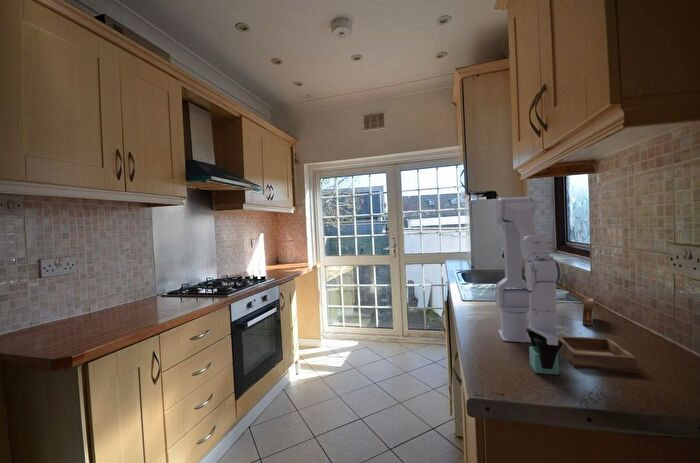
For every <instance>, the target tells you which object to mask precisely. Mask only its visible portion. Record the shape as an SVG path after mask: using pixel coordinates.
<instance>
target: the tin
mask: <svg viewBox="0 0 700 463" xmlns="http://www.w3.org/2000/svg"><path fill="white" fill-rule="evenodd" d="M595 301H596V299H595V298H594V297H590V296H589V297H588V296H585V299H584V302H583V309H582V326H583V325H584V326H589V327H590V326H593V323H594V322H593V321H594V316H595V315H594V313H595V311H594V306H595V303H596V302H595Z"/></svg>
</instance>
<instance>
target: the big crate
mask: <svg viewBox="0 0 700 463" xmlns="http://www.w3.org/2000/svg"><path fill="white" fill-rule="evenodd" d="M557 337H558V341H561V342H562V347H561V348H560V350H559V351H558V352H559V353H560V354H561V355H562V356H563V357H564V359H565V360H567V362H568V363H569V364H570V365H571V366H572V367H573V368H574V369H583V370H595V371H596V370H597V371H609V372H622V373H623V372H624V373H636V374H637V373H638V358H637V357H636V356H635V355H633V354H632V353H630V352H629V351H627V350H626V349H625V348H623V347H622V346H620V345H619V344H618V343H616V342H614V341H613V340H612V339H610V338H607V337H605V338H604V337H590V336H589V337H587V336H586V337H585V336H568V335H565V336H564V335H557Z"/></svg>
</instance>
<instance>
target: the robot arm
mask: <svg viewBox="0 0 700 463" xmlns="http://www.w3.org/2000/svg"><path fill="white" fill-rule="evenodd" d="M536 211H537V203H536V199H535V198H534V197H533V196H532V195H529V196H517V197H498V199H497V200H496V203H495V221H496V225H499V226H501V228H502V235H503V236H502V238H503V240H502V241H503V257H504V258H503V260H504V261H503V262H504V277H503V278H502V279H501V280H500V281H498V282H497V283H496V285H495V291H494V292H495V293H494V298H495V304H496V307H498V308H499V309H500V329H497V332H498V334H499V336H500V338H501V340H502V341H504V342H515V343H517V342H518V343H531V345H532V346H531V347H537V348H538V351H539V356H540V362H541V366H542V368H543V369H553V366H554V362H555V358H556V355H558V352H559V350H560V348H561V347H562V342H561V341H558V337H557V336H558V333H559V332H562V331H563V327H562V326H561V325H557V320H558V319H557V284H558V283H559V282H560V281H561V277H562V270H561V266H560V263H559V261H558V259H555V258H554V256H551V255H550V251H549V249H548V248H547V245H546V242H545V239H544V238H543V237H542V236H540V235H538V233H537V231H536V226H535V222H534V216H535V214H536ZM522 256H523V260H524V262H525V266H524V277H525V280H524V279H523V272H522V271H523V269H522V268H523V267H522ZM528 313H529V324H528Z"/></svg>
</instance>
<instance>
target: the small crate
mask: <svg viewBox="0 0 700 463" xmlns="http://www.w3.org/2000/svg"><path fill="white" fill-rule="evenodd" d="M528 349H529V354H528V355H529V365H530V367H531V368H532V370H533V371H534V373H537V374H546V375H547V374H548V375H558V376H559V375H560V374H559V373H560V372H559V371H560V370H559V362H560V361H559V354H557V355H556V358H555V362H554V366H553V369H543V368H542V366H541V362H540V356H539V351H538V348H537V347H532V346H529V347H528Z"/></svg>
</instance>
